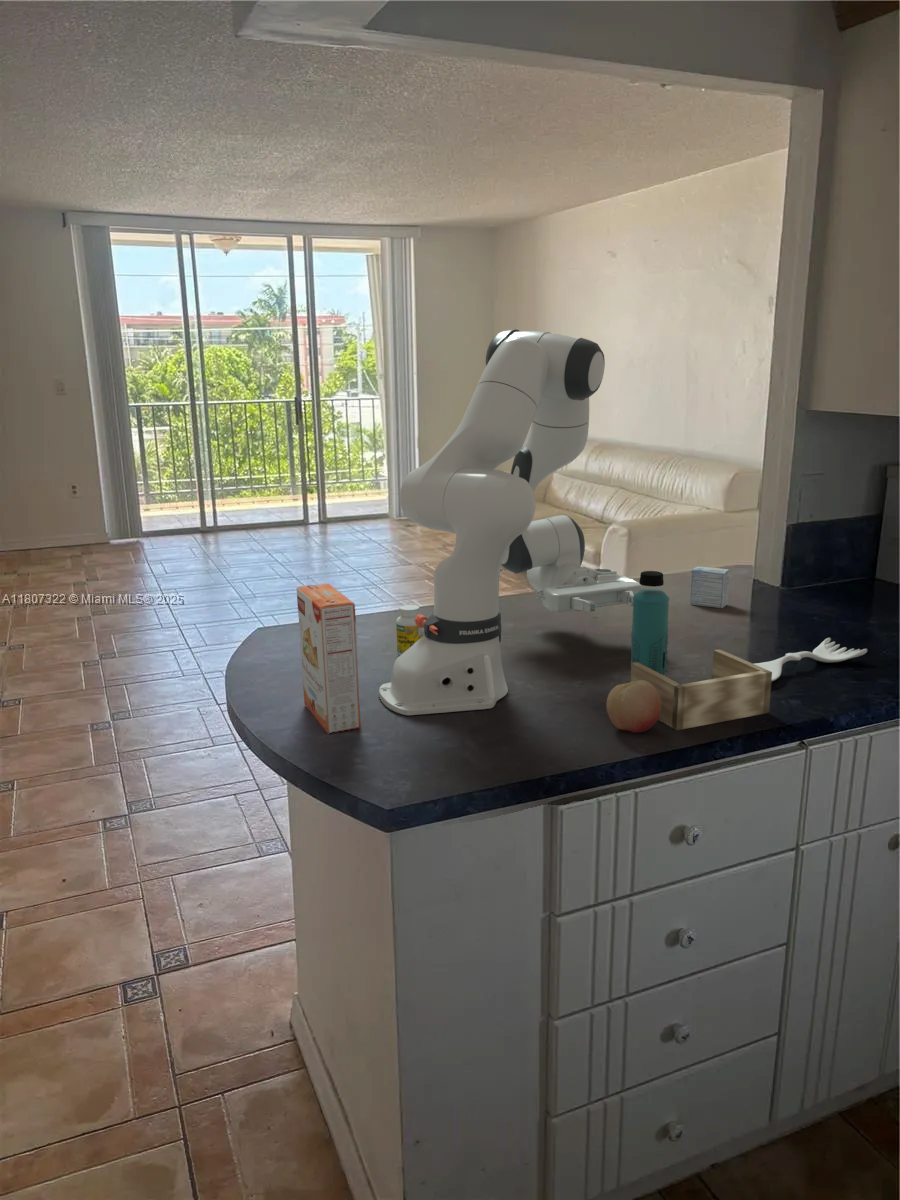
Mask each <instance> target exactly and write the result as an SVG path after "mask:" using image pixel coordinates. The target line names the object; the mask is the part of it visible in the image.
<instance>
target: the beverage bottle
mask: <svg viewBox="0 0 900 1200" xmlns="http://www.w3.org/2000/svg"><path fill="white" fill-rule="evenodd" d="M638 582H639V584H641V585H642V587H644V586H645V587H650V588H642V589H641V590H639V591H638V592H637V593H636V594H635V595H634V596H633V606H632V620H631V621H632V622H631V631H630V632H631V634H630V637H631V641H630V642H631V645H630V651H629V652H630V654H629V655H630V659H629V660H630V661H629V662H630V664H631V663H634V662H638V663H640V664H642V665H644V666H646V667H648V668H650V669H652V670H654V671H656V672H658V673H660V674H661V675H663V676H665V675H666V672H667V671H668V670H667V669H668V668H667V664H668V646H669V641H668V639H669V632H668V631H669V624H670V623H669V601H670V596H669V595H668V594H667V593H666V592H665V591H664V590H662V589H657V588H651V587H661V586H664V584H665V583H664V574H663V572H660V571H655V570H646V571H645V570H644V571H642V572H640V576H639V581H638ZM629 668H630V670H631V667H629Z"/></svg>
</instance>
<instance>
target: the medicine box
mask: <svg viewBox="0 0 900 1200" xmlns="http://www.w3.org/2000/svg"><path fill="white" fill-rule="evenodd" d="M690 572H691V573H690V587H689V588H690V591H689V605H692V606H700V607H708V608H716V609H724V608H725V607H726V606H727V605H728V602H729V601H728V598H729V584H730V583H729V582H730V569H727V568H719V567H709V566H708V567H707V566H696V567H694V568H692V569H691V571H690Z"/></svg>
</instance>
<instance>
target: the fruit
mask: <svg viewBox="0 0 900 1200" xmlns="http://www.w3.org/2000/svg"><path fill="white" fill-rule="evenodd" d="M605 704H606V713H607V715H608V718H609V719H610V722H611V723H612V724H613V725H614V727H616V728H617V729H619V730H621V731H628V732H631V733H635V734H636V733H644V732H646V731H648V730H650V729H651V728H652V727H654V725H656V724H657V722H658V721H659V720H658V718H659V716H660V712H661V699H660V696H659V694H658V692H657V690H656V689H655V687H654V686H653V685H652V684H650V683H649V682H647V681H644V680H639V681H634V682H631V681H630V682H626V683H622V684H621V683H620V684H617V685H616V686H614V687H613V688H612V689H611V690H610V692H609V693H608V695H607V700H606V703H605Z"/></svg>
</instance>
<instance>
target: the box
mask: <svg viewBox="0 0 900 1200" xmlns="http://www.w3.org/2000/svg"><path fill="white" fill-rule="evenodd" d="M712 658H713V659H712V673H711V679H706V680H700V681H692V682H687V683H681V684H680V683H678V681H677V682H676V681H675V680H672V679H671V678H669V677H667V676H665V675H664V676H663V675H661V674H660V673H658V672H656V671H654V670H652V669H650V668H648V667H646V666H644V665H642V664H640V663H638V662H634V663H631V662H630V668H631V669H630V682H634V681H639V680H644V681H647V682H649V683H650V684H652V685H653V686H654V687H655V689H656V690H657V692H658V694H659V696H660V699H661V712H660V716H659V718H658V719H659V720H658V721H659V722H661V723H663V722H664V724H665V723H666V724H665V725H667V726H668V725H669V726H668V727H670V728H672V729H674V730H675V731H682V730H686V729H690V728H696V727H700V726H701V727H702V726H706V725H712V724H718V723H722V722H728V721H733V720H738V719H743V718H748V717H754V716H759V715H764V714H769V713H770V703H771V690H772V682H771V680H772V672H771V671H769V670H766V669H764V668H762V667H759V666H757V665H755V663H752V662H750V661H748V660H745V659H743V658H741V657H739V656H736V655H734V654H732V653H729V652H727V651H724V650H722V649H714V650H713V657H712Z"/></svg>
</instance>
